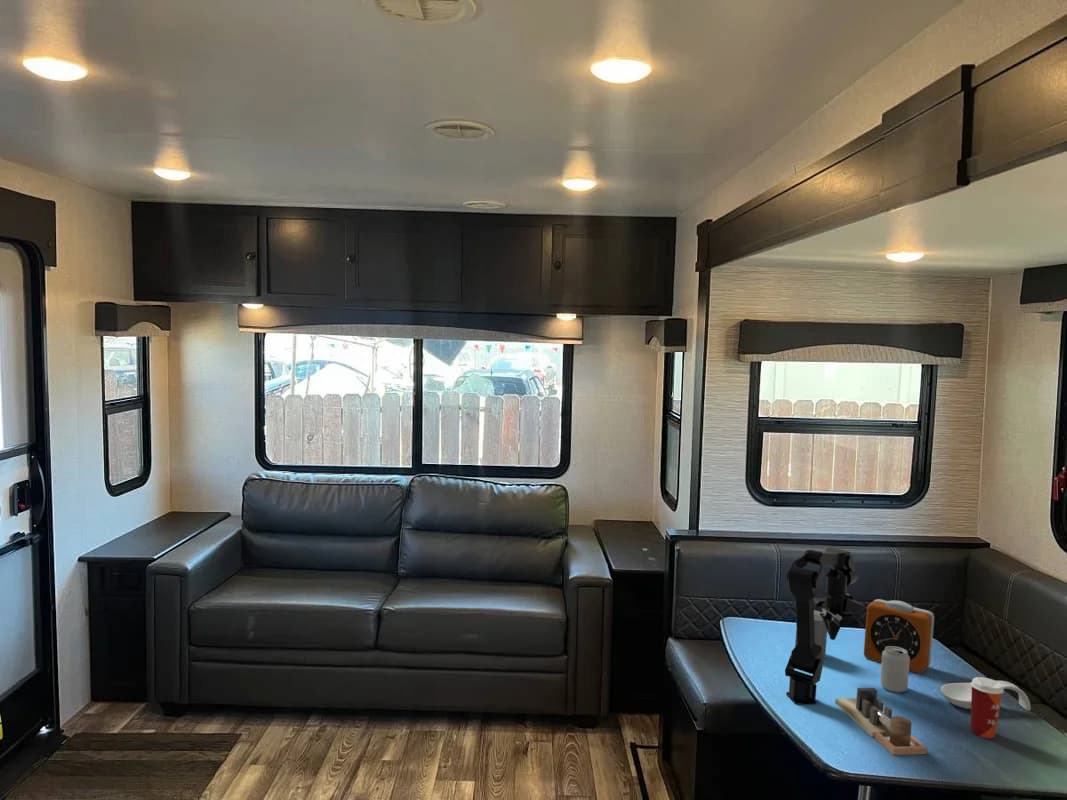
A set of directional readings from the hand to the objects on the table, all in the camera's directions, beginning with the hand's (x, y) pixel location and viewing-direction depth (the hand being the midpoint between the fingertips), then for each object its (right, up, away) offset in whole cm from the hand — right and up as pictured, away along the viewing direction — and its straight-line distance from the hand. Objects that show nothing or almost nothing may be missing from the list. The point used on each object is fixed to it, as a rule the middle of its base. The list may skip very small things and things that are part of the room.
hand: (832, 639), depth 239 cm
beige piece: (+1, -14, -25) cm, 29 cm away
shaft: (+1, -13, -29) cm, 32 cm away
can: (+16, -13, -5) cm, 22 cm away
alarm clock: (+26, -12, +14) cm, 32 cm away
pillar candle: (0, -11, +18) cm, 21 cm away
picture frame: (+2, -15, -39) cm, 42 cm away
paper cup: (+28, -16, -31) cm, 45 cm away
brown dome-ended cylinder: (+2, -15, -39) cm, 42 cm away
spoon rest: (+38, -15, -14) cm, 44 cm away
